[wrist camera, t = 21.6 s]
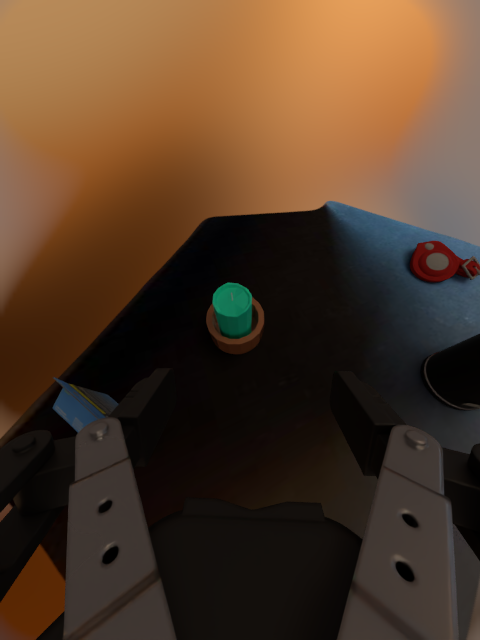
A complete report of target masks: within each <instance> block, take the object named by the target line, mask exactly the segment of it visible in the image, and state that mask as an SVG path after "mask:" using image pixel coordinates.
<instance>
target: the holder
mask: <svg viewBox="0 0 480 640" xmlns="http://www.w3.org/2000/svg"><path fill="white" fill-rule="evenodd" d="M206 324H207V326H208V329H209V332H210V335H211V337H212V340H213V342H214V343H215V345H216V346H217V347H218V348H219V349H221V350H222V351H224V352H226V353H230V354H243V353H246V352H248V351H250V350H252V349H253V348H254V347H256V345H257V344H258V343H259V342H260V340H261V337H262V334H263V328H264V311H263V309H262V308H261V306H260V304H259V303H258V302H257V301H256V300H255V299H253V298H252V324H251V333H250V334H249V335H248V336H245V337H243V338H240V339H229V338H227V337H224V336H222V335H221V333H220V329H219V325H218V322H217V318H216V314H215V311H214V307H213V303H212V305H211V307H210V308H209V310H208V312H207V318H206Z"/></svg>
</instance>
